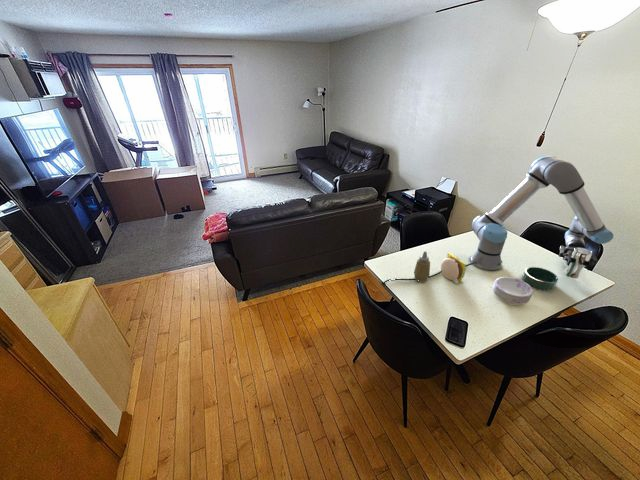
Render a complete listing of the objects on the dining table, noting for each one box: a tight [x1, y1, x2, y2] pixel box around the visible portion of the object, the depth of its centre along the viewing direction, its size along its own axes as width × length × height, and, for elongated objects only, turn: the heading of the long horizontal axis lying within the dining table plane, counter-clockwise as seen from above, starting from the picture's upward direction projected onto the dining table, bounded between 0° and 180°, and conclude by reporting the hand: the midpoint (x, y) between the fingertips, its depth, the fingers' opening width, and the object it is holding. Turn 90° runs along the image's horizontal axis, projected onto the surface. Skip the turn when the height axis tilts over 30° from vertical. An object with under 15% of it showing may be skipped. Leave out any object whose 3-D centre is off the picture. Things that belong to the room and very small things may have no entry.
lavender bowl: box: [492, 276, 534, 306], centre depth 127 cm, size 15×15×8 cm
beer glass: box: [562, 247, 593, 280], centre depth 133 cm, size 7×7×15 cm
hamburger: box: [440, 252, 467, 284], centre depth 142 cm, size 12×8×12 cm
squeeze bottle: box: [413, 250, 431, 283], centre depth 141 cm, size 8×8×18 cm
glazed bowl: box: [521, 266, 559, 292], centre depth 136 cm, size 14×14×6 cm
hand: (579, 265), depth 128 cm, fingers closed on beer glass, 7 cm apart
